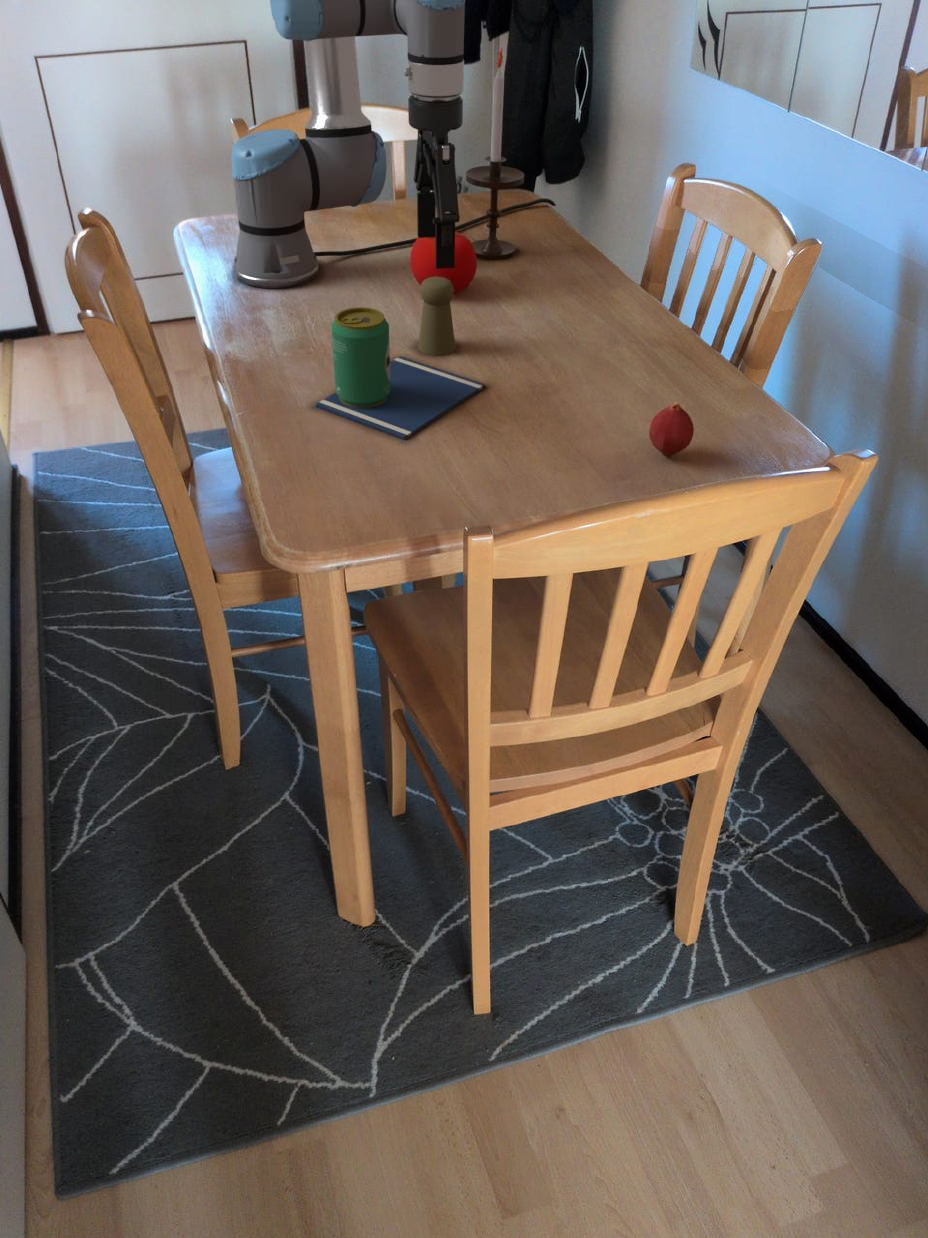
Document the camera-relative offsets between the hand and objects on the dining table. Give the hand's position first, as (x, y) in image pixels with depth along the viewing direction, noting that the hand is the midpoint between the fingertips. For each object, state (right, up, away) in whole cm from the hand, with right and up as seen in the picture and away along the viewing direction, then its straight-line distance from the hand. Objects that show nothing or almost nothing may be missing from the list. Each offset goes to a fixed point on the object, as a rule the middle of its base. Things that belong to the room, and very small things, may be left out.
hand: (435, 251), depth 149 cm
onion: (+32, -33, -14) cm, 48 cm away
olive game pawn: (0, -12, +11) cm, 16 cm away
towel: (-5, -22, -3) cm, 23 cm away
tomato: (+1, +4, +29) cm, 29 cm away
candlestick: (+10, +16, +45) cm, 49 cm away
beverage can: (-10, -23, -4) cm, 25 cm away
